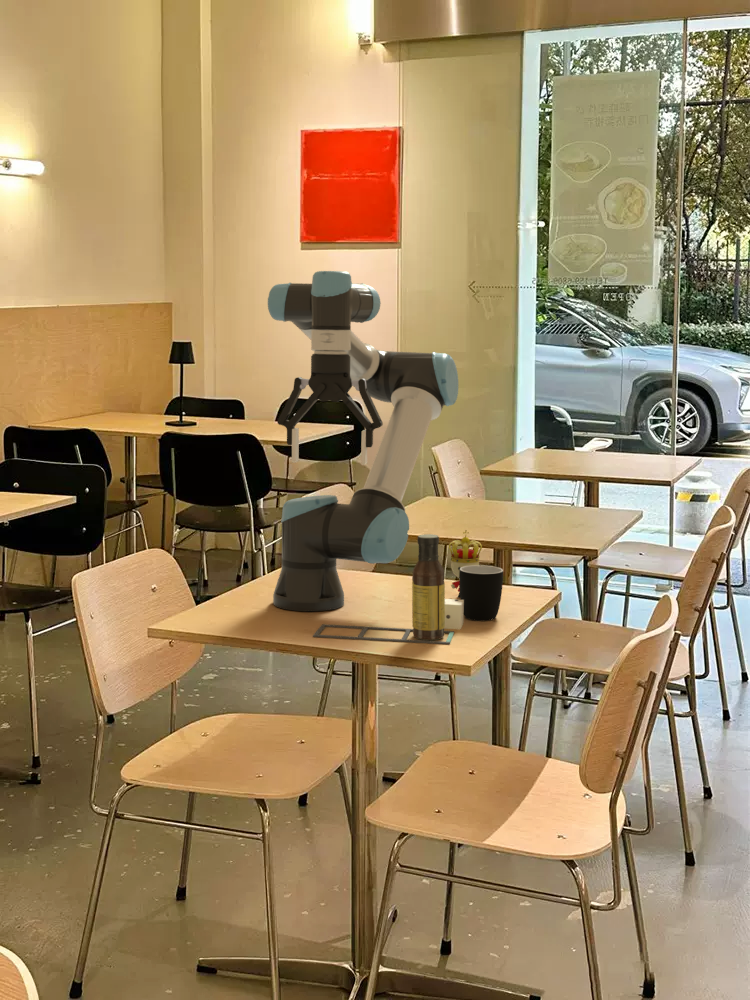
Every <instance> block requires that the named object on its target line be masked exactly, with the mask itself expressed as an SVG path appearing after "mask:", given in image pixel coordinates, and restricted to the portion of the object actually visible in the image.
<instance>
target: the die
mask: <svg viewBox="0 0 750 1000" xmlns="http://www.w3.org/2000/svg"><path fill="white" fill-rule="evenodd" d="M463 613H464V600H461V599H457V598H456V599H455V598H453V599H451V598H445V627H444V630H448V629H449V630H461V629H462V627H463V625H464V614H463Z"/></svg>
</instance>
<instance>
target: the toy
mask: <svg viewBox="0 0 750 1000" xmlns="http://www.w3.org/2000/svg"><path fill="white" fill-rule="evenodd" d="M462 533H463V534H465V536H464V537H462V538H461V540H459V539H456V540H455V539H454V540H453V541H451V542H450V543H449V544H448V548H449V551H450V554H451V556H450V558H451V559H450V561H451V562H450V563H451V564H450V568H451V572H452V573H453V575H455V576H456V577H457V578H458V579H459V571H460V568H461V567H464V566H472V565H480V553H481V551H482V550H483V549H482V548H483V546H482V544H481V542H479V541H477V540H475V539H472V540H470V538H469V537H467V534H470V533H469V531H468V532H467V529H465V530H464V531H463V532H462ZM463 534H462V535H463ZM459 545H461V547H462V548H459V549H458V546H459ZM471 545H473V547H472V548H469V546H471ZM451 546H452V547H451ZM479 546H480V547H479ZM450 588H452V589H456V590H457V592H459V593H458V595H457V598H460V590H459V580H457V581H453V582H452V583H451V587H450Z"/></svg>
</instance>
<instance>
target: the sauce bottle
mask: <svg viewBox="0 0 750 1000" xmlns="http://www.w3.org/2000/svg"><path fill="white" fill-rule="evenodd" d="M439 537H440V536H439V535H436V534H430V533H429V534H428V533H427V534H419V535H418V536H417V544H418V556H417V559H418V561H417V562H416V564H415V565H414V567H413V569H412V579H411V580H412V582H411V583H412V584H411V585H412V586H411V587H412V588H411V592H412V593H411V594H412V595H411V596H412V597H411V598H412V599H411V601H412V604H411V606H412V607H411V608H412V618H411V619H412V620H411V621H412V622H411V623H412V629H413V631H412V634H413V636H414V638H415V639H416V640H425V641H439V640H441V639H443V638H444V636H445V633H444V631H445V629H444V627H445V599H446V598H445V597H446V596H445V595H446V594H445V593H446V591H445V587H446V586H445V585H446V584H445V569H444V567H443V565H442V564H441V562H440V561H439V543H440V538H439Z"/></svg>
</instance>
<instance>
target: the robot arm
mask: <svg viewBox="0 0 750 1000" xmlns="http://www.w3.org/2000/svg"><path fill="white" fill-rule="evenodd" d="M311 280H312V282H311V283H296V282H293V283H292V282H288V283H277V284H275V285H273V286H272V287H271V289H270V290H269V293H268V297H267V309H268V313H269V315H270V317H271V318H272V319H273V320H274V321H278V322H279V321H281V322H283V323H285V322H290V323H292V324H293V325H295V327H297V328H298V329H299V331H301V332H302V333H303V334H304V335H305V336H306V337H307V338H308V339H310V340H311V341H310V345H311V348H310V349H311V351H313V353H312V354H311V355H310V363H311V364H310V377H309V378H303V377H301V376H300V377H299V376H298V377H295V378H294V382H293V389H292V391H291V393H290V395H289V397H288V399H287V401H286V403H285V405H284V407H283V408H282V411H281V413H280V415H279V417H278V419H277V424H278V425H279V426H282V427H285V428H286V443H287V445H288V446H291V463H295V464H296V463H299V460H300V459H299V458H300V457H299V455H300V452H299V451H300V450H299V448H300V447H299V446H300V445H299V443H300V438H299V437H300V428H299V427H296V426H297V424H298V423H299V422H300V421H301V419H302V418H303V417H304V416H305V415H306V414H307V413H308V411H310V409H311V408H312V407H313V406H314V404H315V403H316V402H317V401H320V402H321V403H322V402H325V403H326V402H333V403H338V402H340V401H342V402H343V403H344V405H346V407H347V408H348V409H349V411H350V412H351V413H352V414H353V416H354V417H355V418H356V419H357V420H358V422H360V424H361V426H363V428H364V429H363V430H362V431H361V446H360V448H361V452H360V453H361V454H360V465H361V466H366V465H367V464H368V448H373V445H374V430H375V429H379V428H381V427H383V425H384V423H383V421H382V419H381V416H380V414H379V411H378V410H377V408H376V405H375V403H374V401H373V399H374V400H377V401H380V402H384V403H388V404H389V403H391V405H392V406H393V408H392V409H393V410H392V412H391V415H390V417H389V420H388V423H387V425H386V428H385V430H384V433H383V435H382V439H381V441H380V443H379V445H378V449H377V452H376V454H375V457H374V460H373V461H372V464H371V468H369V472H368V475H367V478H366V480H365V483H364V485H363V487H362V488H358V489H357V490H356V491H354V492H353V494H352V497H351V500H350V502H349V503H339V499H338V498H337V497H338V496H336V495H331V494H324V495H313V496H312V495H311V496H305V497H304V496H303V497H297V498H292V499H289V500H286V502H284V504H283V505H282V511H281V512H282V514H281V520H280V522H281V523H280V524H281V569H280V572H279V575H278V578H277V582H276V585H275V587H274V591H273V600H272V602H273V604H272V605H274V607H276V608H280V609H283V610H287V611H288V610H289V611H295V612H297V611H298V612H322V611H323V612H324V611H332V610H335V609H339V608H341V607H343V606H344V605H345V593H344V590H343V589H344V588H343V586H342V582H341V579H340V577H339V572H338V570H337V560H344V561H353V562H363V563H368V564H389V563H392V562H394V561H396V560H397V559H398V558H399V557H400V556H401V554H402V553H403V551H404V549H405V547H406V545H407V541H408V539H409V534H408V533H409V531H410V520H409V519H410V518H409V517H408V514H407V513H406V508H405V505H404V504H403V502H402V501H403V499H404V496H405V493H406V490H407V488H408V485H409V483H410V479H411V476H412V475H413V471H414V468H415V465H416V462H417V460H418V457H419V455H420V451H421V448H422V446H423V444H424V440H425V437H426V435H427V432H428V429H429V426H430V424H431V421H434V420H436V419H438V418H439V417H440V416H441V413H442V411H443V408H444V406H446V407H450V406H453V405H454V404H455V403H456V402H457V399H458V395H459V373H458V368H457V365H456V363H455V360H454V359H453V357H452V356H451V355H450V354H448V353H443V352H441V353H440V352H436V351H432V352H416V351H415V352H414V351H413V352H411V351H410V352H409V351H392V350H391V351H390V350H389V351H388V350H387V351H386V350H380V349H376V348H375V347H374V346H373V345H371V344H369V343H367V342H366V343H364V342H363V341H362V340H361V339H360V338H359V337H358V336H357V335H356V334H355V332H353V331H352V329H351V327H352V326H351V323H361V324H363V323H366V322H369V321H372V320H374V318H376V317H377V315H378V314H379V311H380V310H381V309H380V308H381V304H382V303H381V298H380V294H379V293H378V291H377V290H376V289H375V288H374V287H372V286H370V285H368V284H365V283H363V282H362V283H352V281H353V280H352V275H351V273H349V272H348V271H340V270H318V271H315V272H314V273H313V275H312V279H311ZM307 386H308V387H309V388H310V390H311V391H312V393H311V395H310V396H309V397H308V398H307V400H306V401H305V402H304V403H303V404H302V405H301V407H300V408H299V409H298V410H297V411H296V413H294V415H293V416H292V417H291V418H290V416H291V413H292V411H293V409H294V407H295V405H296V403H297V401H298V399H299V397H300V395H301V393H302V390H305V389H306V387H307ZM352 387H353V388H355V391H357V392H359V394H360V397H361V399H362V401H363V403H364V405H365V409H367V412H368V414H369V416H370V419H371V420H372V421H370V419H369V418H368V417H367V416H366V414H365V413H364V412H363V410H362V409H361V408H360V407H359V406H358V404H357V403H356V402H355V401H354V399H353V398H352V396H351V395H350V394H349V391H350V390H351V388H352ZM372 398H373V399H372ZM289 418H290V419H289Z"/></svg>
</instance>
